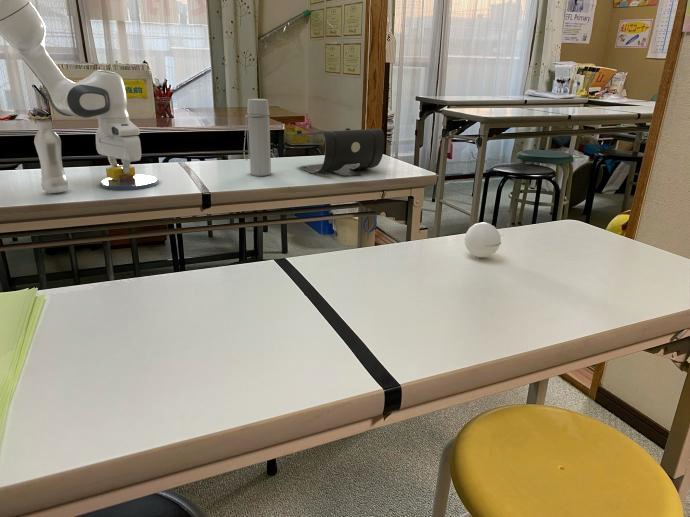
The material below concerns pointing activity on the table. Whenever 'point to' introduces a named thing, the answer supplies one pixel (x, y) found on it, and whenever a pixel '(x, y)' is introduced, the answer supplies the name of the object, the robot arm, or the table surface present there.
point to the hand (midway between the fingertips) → (120, 171)
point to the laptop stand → (349, 151)
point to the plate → (130, 183)
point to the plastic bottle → (50, 158)
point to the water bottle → (258, 137)
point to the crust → (126, 177)
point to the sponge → (118, 172)
